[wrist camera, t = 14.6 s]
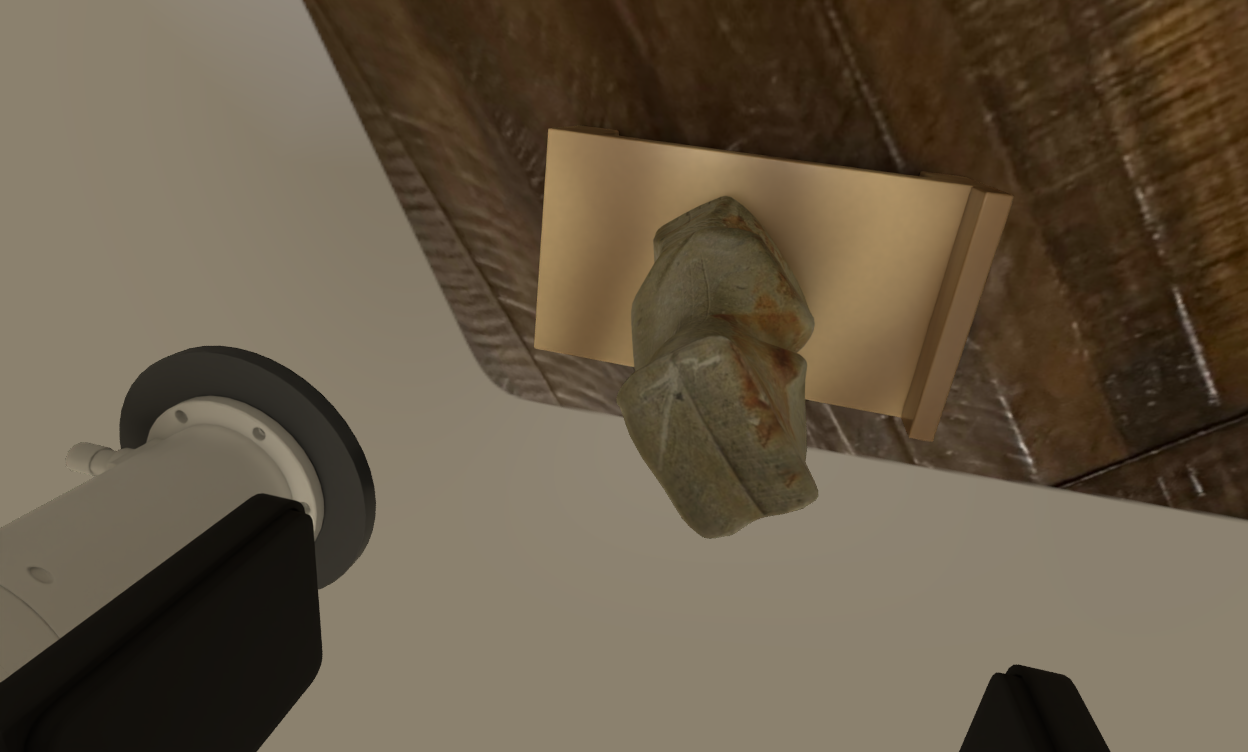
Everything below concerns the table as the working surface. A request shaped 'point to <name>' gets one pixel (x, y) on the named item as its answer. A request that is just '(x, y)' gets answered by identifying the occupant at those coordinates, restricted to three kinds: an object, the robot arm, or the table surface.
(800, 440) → the sculpture
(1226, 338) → the table surface
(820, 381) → the shelf
